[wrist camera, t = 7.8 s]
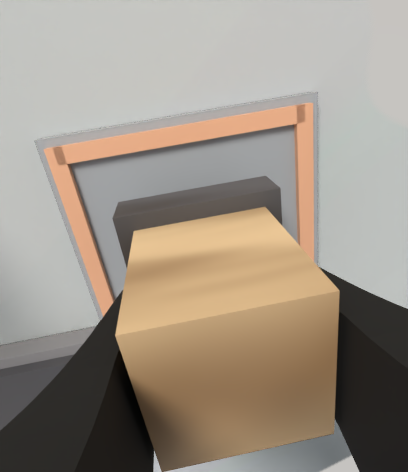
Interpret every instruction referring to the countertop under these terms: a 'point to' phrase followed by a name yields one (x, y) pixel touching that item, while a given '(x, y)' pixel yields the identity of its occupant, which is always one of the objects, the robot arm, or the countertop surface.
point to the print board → (181, 173)
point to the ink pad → (33, 368)
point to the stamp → (224, 323)
